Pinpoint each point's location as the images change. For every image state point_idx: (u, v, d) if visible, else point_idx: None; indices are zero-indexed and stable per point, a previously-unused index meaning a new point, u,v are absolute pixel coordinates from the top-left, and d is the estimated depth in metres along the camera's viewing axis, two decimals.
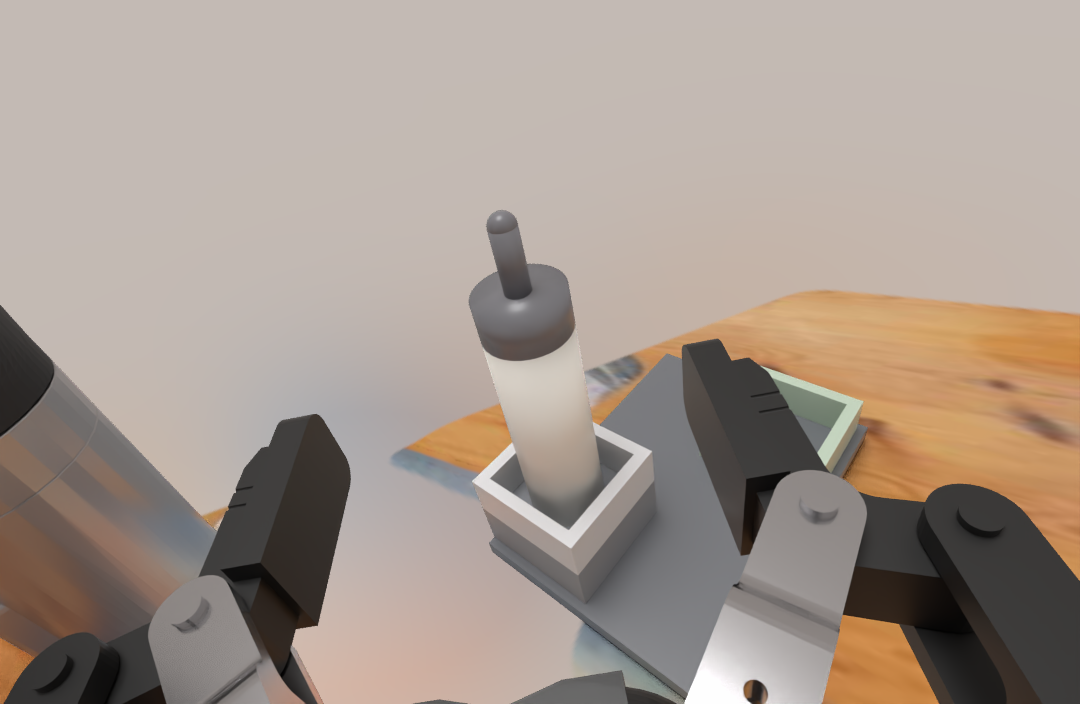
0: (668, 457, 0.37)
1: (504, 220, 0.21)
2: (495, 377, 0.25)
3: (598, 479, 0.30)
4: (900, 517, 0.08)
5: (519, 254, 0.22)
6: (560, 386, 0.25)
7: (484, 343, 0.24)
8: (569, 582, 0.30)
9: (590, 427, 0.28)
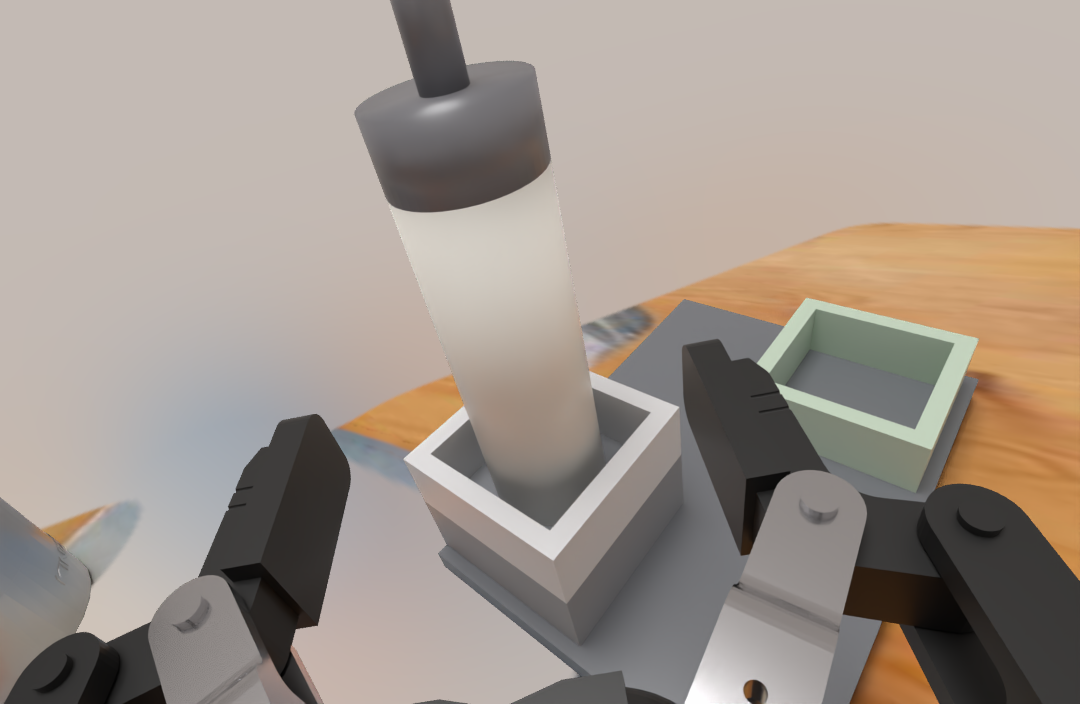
0: None
1: None
2: (413, 259, 0.14)
3: (597, 450, 0.19)
4: (900, 517, 0.08)
5: None
6: (526, 270, 0.14)
7: (385, 186, 0.13)
8: (554, 613, 0.19)
9: (582, 360, 0.17)
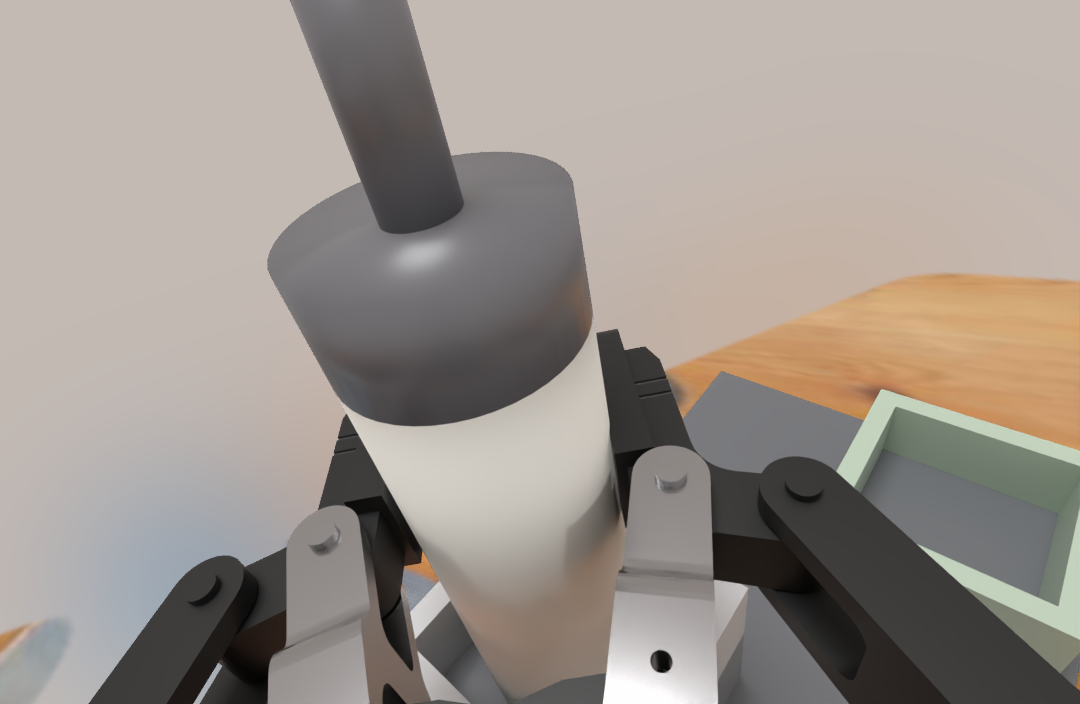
0: None
1: None
2: (374, 461, 0.09)
3: None
4: (746, 488, 0.09)
5: (403, 62, 0.06)
6: (552, 489, 0.09)
7: (323, 370, 0.08)
8: None
9: None
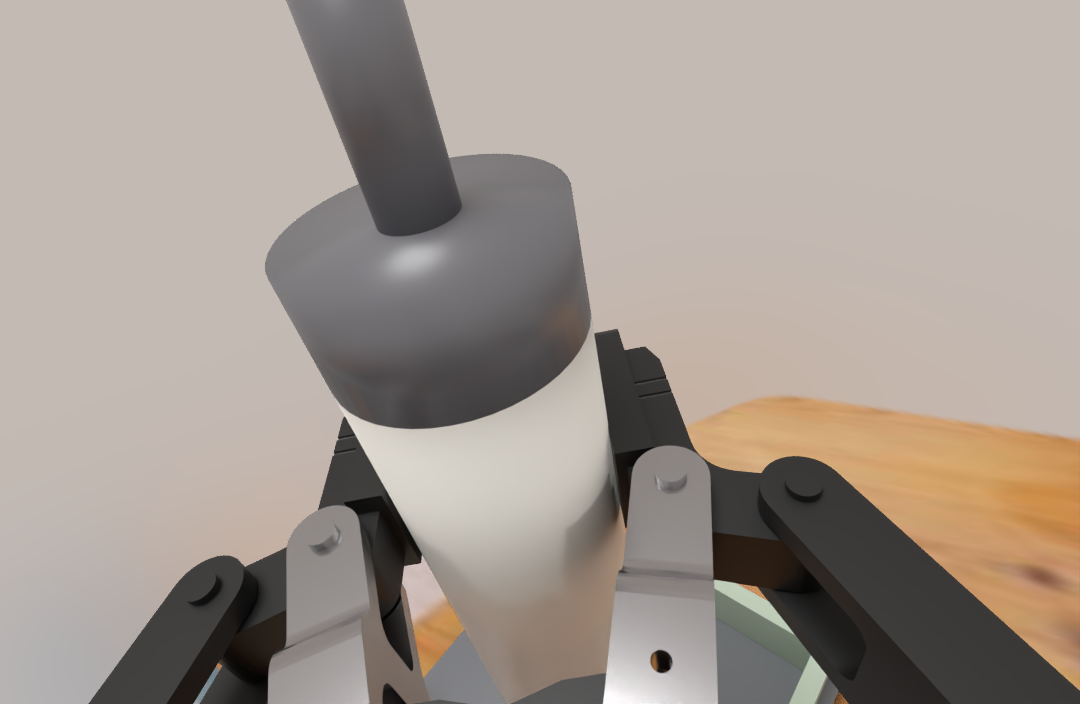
0: None
1: None
2: (372, 464, 0.09)
3: None
4: (746, 487, 0.09)
5: (400, 65, 0.06)
6: (550, 492, 0.09)
7: (321, 373, 0.08)
8: None
9: None
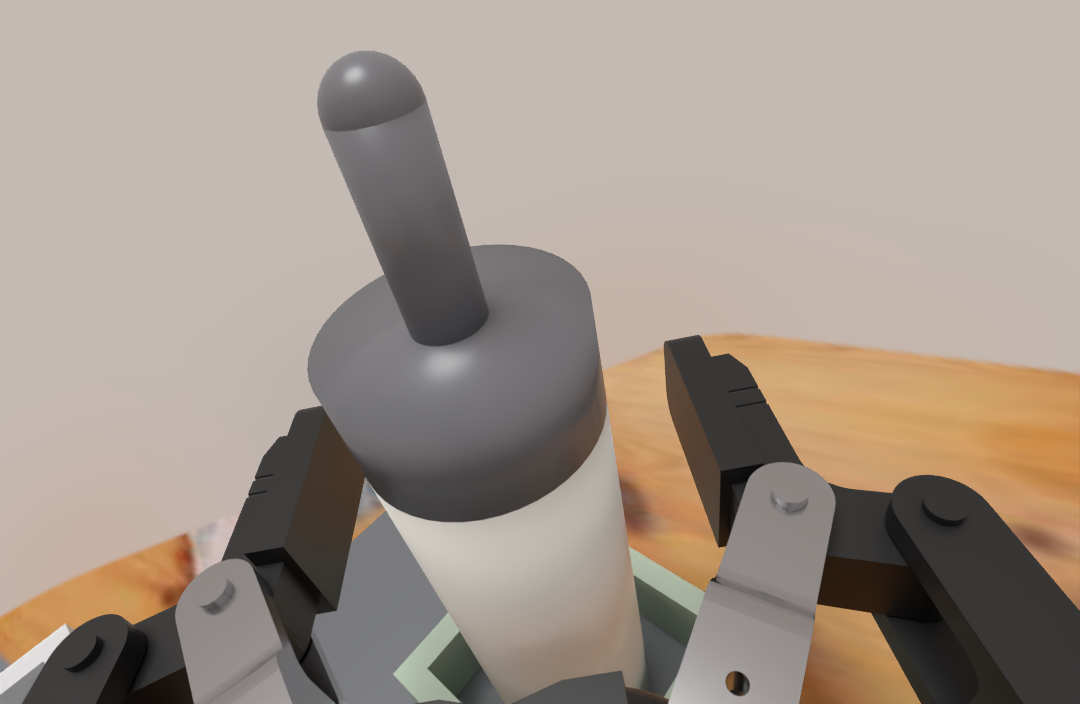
0: None
1: (370, 78, 0.06)
2: (402, 536, 0.10)
3: (642, 683, 0.15)
4: (869, 508, 0.08)
5: (437, 207, 0.07)
6: (569, 565, 0.09)
7: (358, 464, 0.09)
8: None
9: (632, 607, 0.13)
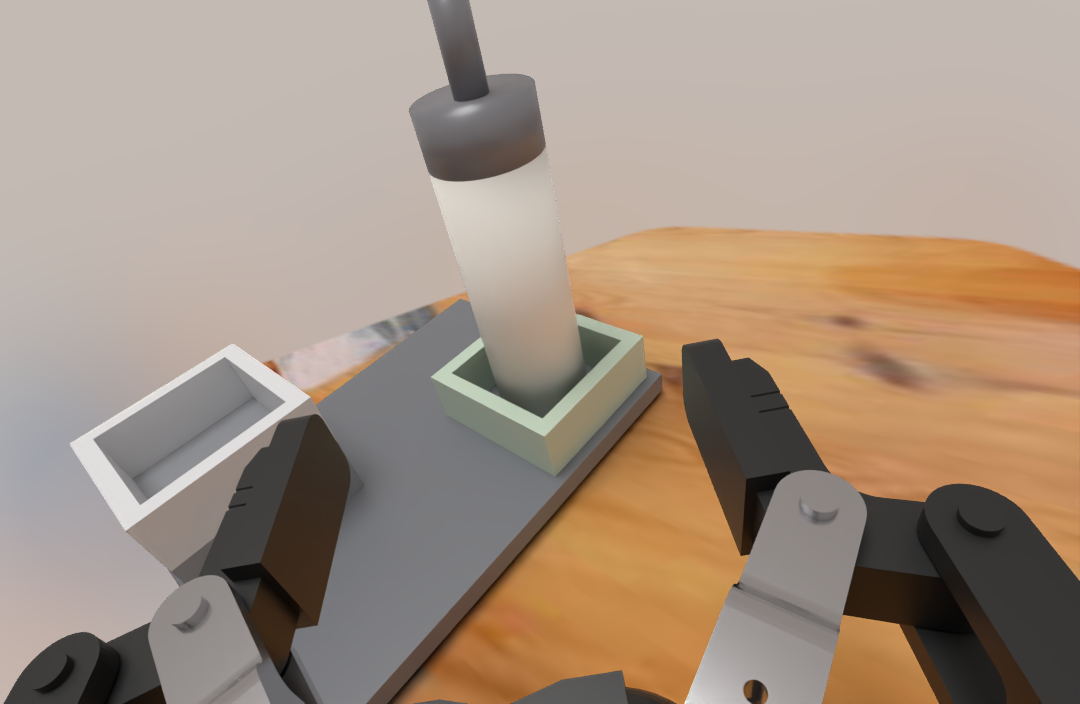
0: (408, 418, 0.28)
1: None
2: (447, 216, 0.20)
3: (580, 370, 0.25)
4: (900, 517, 0.08)
5: (469, 30, 0.17)
6: (527, 224, 0.20)
7: (430, 163, 0.19)
8: None
9: (568, 296, 0.23)
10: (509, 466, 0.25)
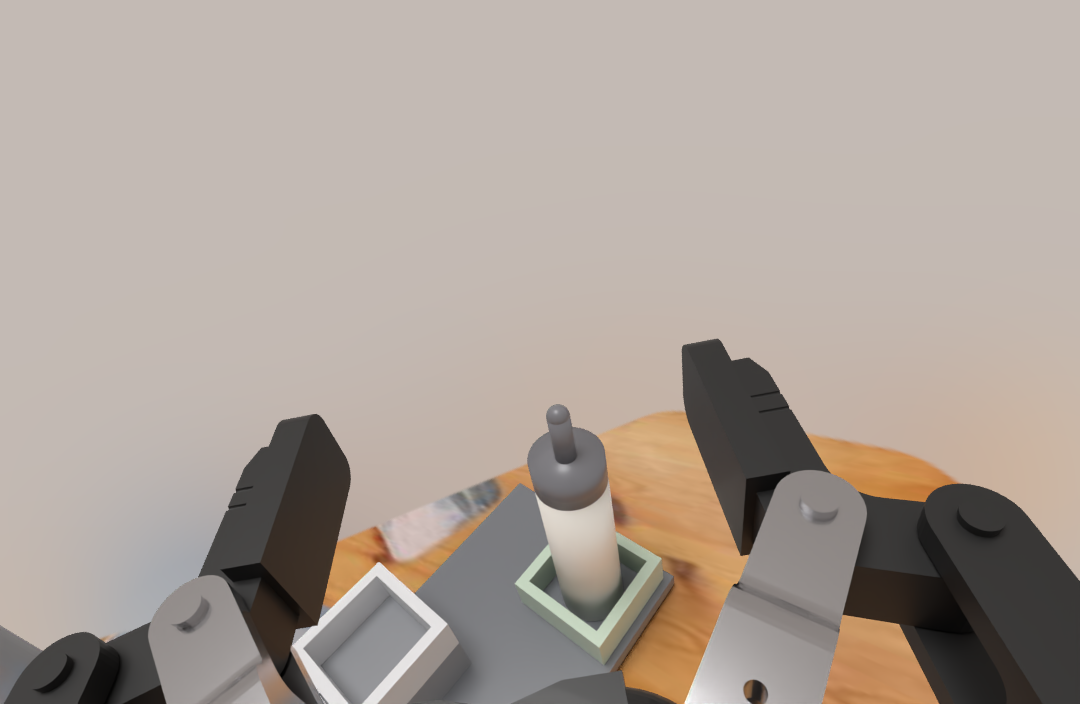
0: (494, 603, 0.40)
1: (561, 415, 0.28)
2: (545, 517, 0.32)
3: (619, 583, 0.37)
4: (900, 517, 0.08)
5: (570, 435, 0.29)
6: (596, 525, 0.32)
7: (539, 495, 0.31)
8: None
9: (615, 546, 0.35)
10: (571, 653, 0.36)
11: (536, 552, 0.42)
